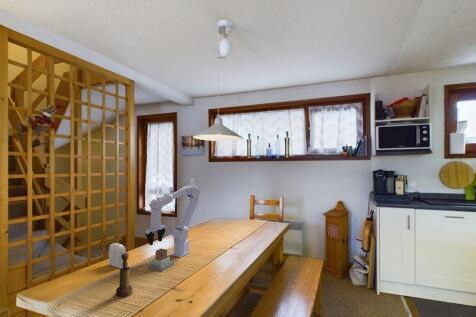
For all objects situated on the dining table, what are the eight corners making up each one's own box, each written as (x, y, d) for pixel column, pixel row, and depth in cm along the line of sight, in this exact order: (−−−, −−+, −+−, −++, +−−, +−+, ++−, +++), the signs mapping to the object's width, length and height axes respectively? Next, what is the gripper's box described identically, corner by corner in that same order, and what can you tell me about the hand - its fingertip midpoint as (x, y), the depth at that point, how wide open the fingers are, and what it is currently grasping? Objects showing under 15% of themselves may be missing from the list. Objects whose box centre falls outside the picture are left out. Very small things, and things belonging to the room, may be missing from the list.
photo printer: (126, 266, 145) (126, 244, 145) (119, 269, 141) (119, 246, 141) (114, 262, 150) (115, 241, 150) (107, 265, 146) (108, 243, 146)
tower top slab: (160, 259, 151) (160, 255, 151) (169, 261, 148) (169, 257, 148) (151, 263, 144) (151, 259, 144) (161, 266, 142) (161, 261, 142)
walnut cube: (160, 256, 149) (160, 248, 149) (167, 257, 148) (167, 249, 148) (155, 259, 145) (155, 250, 145) (162, 260, 143) (162, 252, 144)
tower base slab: (160, 262, 153) (160, 258, 153) (174, 265, 148) (174, 261, 148) (148, 269, 144) (148, 264, 144) (162, 272, 139) (162, 267, 139)
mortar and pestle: (134, 290, 119) (135, 250, 119) (129, 297, 112) (129, 255, 112) (119, 290, 119) (120, 250, 119) (113, 297, 112) (114, 255, 112)
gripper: (152, 223, 145) (152, 247, 145) (169, 218, 159) (168, 240, 158) (142, 221, 148) (142, 245, 148) (160, 217, 161) (159, 238, 161)
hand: (155, 243), depth 153 cm, fingers open, 7 cm apart
